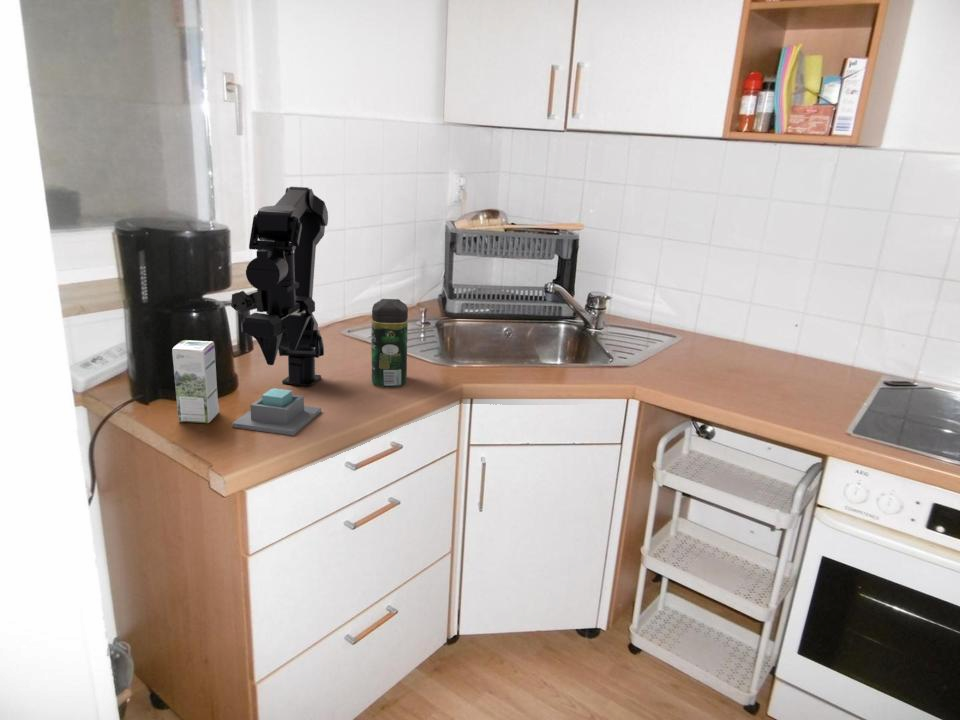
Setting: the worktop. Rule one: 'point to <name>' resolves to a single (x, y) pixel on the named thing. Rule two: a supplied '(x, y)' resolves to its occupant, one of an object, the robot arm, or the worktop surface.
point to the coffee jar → (389, 343)
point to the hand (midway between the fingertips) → (281, 357)
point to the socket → (278, 417)
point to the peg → (277, 397)
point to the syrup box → (195, 381)
